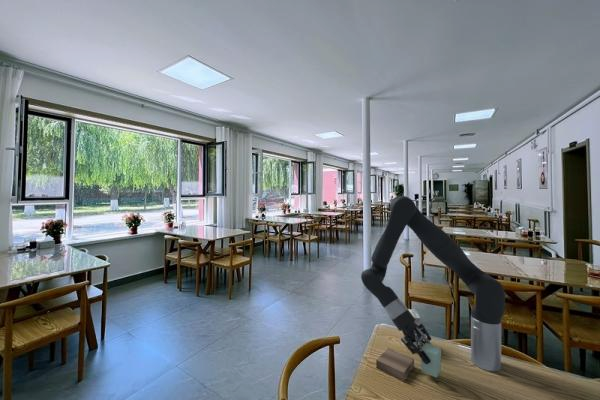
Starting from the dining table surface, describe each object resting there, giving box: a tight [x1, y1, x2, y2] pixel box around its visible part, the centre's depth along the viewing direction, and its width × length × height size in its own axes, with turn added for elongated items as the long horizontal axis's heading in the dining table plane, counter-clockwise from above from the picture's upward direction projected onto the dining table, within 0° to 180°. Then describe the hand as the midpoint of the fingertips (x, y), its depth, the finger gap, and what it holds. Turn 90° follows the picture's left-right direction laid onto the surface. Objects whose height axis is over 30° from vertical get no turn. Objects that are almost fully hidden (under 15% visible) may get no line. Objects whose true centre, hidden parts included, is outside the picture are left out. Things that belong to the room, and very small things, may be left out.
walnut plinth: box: [375, 347, 415, 382], centre depth 95 cm, size 10×10×3 cm
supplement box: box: [407, 308, 421, 349], centre depth 110 cm, size 8×5×13 cm, turn 168°
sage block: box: [420, 343, 442, 379], centre depth 90 cm, size 5×5×8 cm
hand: (431, 359), depth 90 cm, fingers closed on sage block, 5 cm apart
